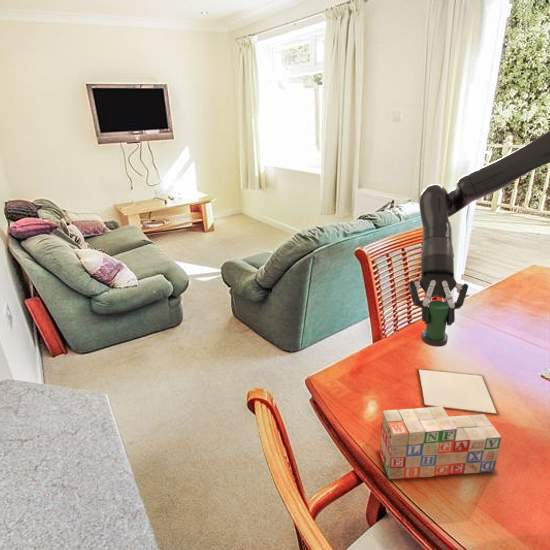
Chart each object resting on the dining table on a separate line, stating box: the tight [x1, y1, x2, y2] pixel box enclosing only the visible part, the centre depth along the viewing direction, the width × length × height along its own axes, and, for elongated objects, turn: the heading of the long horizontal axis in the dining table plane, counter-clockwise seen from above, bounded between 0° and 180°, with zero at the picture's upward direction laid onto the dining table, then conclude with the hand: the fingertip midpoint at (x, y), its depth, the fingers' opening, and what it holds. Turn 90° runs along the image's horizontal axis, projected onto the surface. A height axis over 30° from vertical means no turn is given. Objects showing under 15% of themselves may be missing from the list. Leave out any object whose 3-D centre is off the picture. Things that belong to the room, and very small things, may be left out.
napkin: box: [418, 369, 498, 415], centre depth 97 cm, size 16×14×1 cm
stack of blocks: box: [379, 406, 502, 480], centre depth 75 cm, size 21×6×12 cm, turn 92°
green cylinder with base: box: [421, 300, 449, 348], centre depth 91 cm, size 6×6×10 cm
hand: (437, 323), depth 89 cm, fingers closed on green cylinder with base, 4 cm apart
